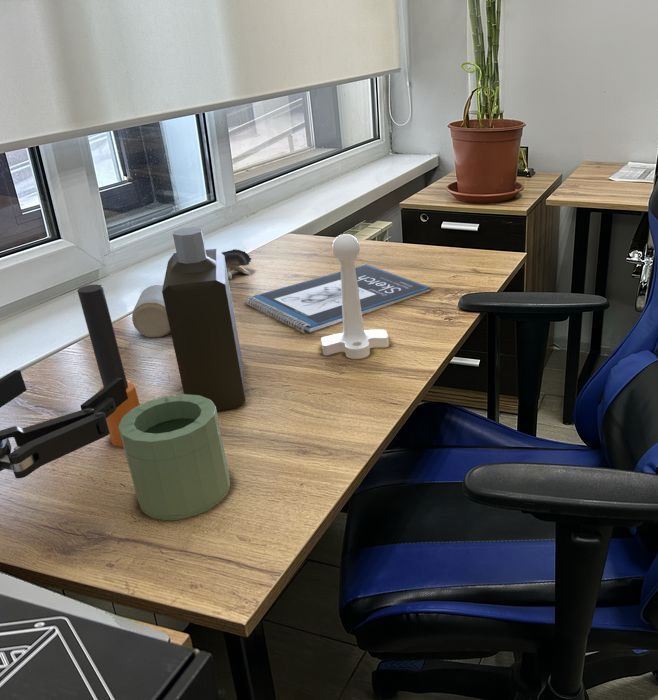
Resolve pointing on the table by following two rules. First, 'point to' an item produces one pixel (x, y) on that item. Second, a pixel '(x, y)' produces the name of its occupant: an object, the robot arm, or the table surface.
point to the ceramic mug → (151, 313)
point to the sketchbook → (334, 298)
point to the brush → (106, 352)
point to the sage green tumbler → (175, 456)
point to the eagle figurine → (236, 261)
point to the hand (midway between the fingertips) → (71, 383)
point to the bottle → (203, 321)
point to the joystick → (351, 308)
